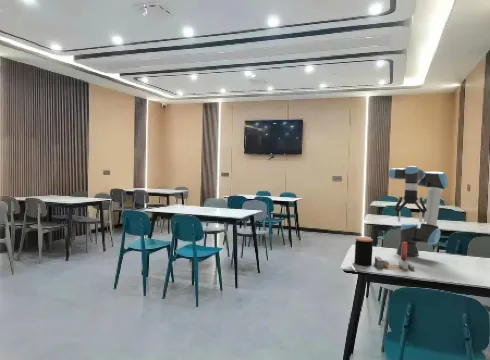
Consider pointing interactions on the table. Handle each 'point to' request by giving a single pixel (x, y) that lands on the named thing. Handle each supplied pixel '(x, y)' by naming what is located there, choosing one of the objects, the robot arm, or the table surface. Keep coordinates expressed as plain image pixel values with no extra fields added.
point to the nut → (385, 263)
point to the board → (391, 266)
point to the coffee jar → (363, 251)
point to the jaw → (403, 256)
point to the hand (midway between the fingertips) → (409, 221)
